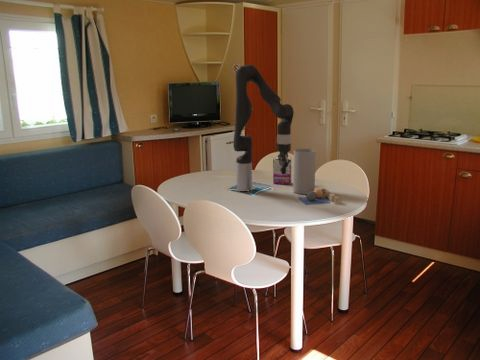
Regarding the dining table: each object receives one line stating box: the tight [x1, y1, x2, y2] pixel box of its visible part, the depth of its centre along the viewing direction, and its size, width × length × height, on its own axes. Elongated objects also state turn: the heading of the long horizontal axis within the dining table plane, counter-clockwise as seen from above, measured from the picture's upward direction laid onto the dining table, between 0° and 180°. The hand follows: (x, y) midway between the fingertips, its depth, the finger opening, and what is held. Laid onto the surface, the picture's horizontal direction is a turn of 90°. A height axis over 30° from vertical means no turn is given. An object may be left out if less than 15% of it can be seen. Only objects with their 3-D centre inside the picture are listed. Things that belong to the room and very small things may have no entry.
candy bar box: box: [272, 157, 292, 185], centre depth 290 cm, size 11×5×16 cm, turn 76°
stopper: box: [320, 188, 340, 205], centre depth 256 cm, size 20×2×4 cm, turn 13°
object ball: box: [313, 188, 324, 199], centre depth 257 cm, size 6×6×6 cm
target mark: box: [297, 196, 331, 206], centre depth 255 cm, size 14×14×1 cm
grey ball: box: [305, 191, 316, 201], centre depth 253 cm, size 6×6×6 cm
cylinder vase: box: [292, 148, 316, 195], centre depth 269 cm, size 12×12×25 cm
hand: (283, 173), depth 248 cm, fingers closed
